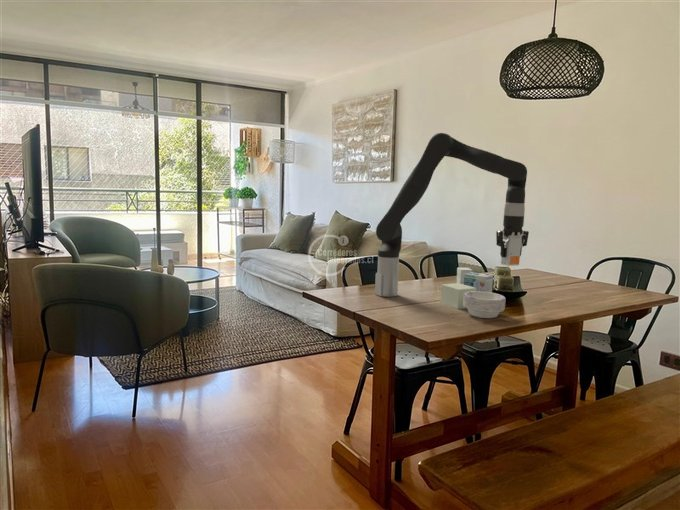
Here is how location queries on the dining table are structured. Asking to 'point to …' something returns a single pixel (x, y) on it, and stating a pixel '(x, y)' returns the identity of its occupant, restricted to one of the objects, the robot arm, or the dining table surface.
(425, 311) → the dining table surface
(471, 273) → the light bulb box
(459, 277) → the small box
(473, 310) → the paper bowls
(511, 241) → the skincare box
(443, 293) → the sage block
